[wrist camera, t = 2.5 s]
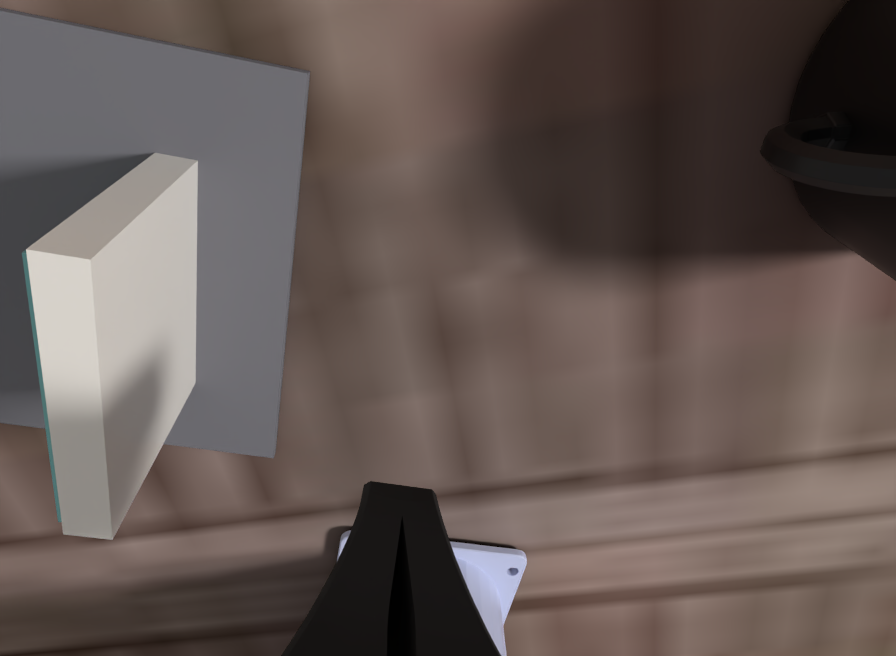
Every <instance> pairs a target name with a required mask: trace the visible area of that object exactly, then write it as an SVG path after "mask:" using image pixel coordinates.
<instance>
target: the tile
mask: <svg viewBox="0 0 896 656" xmlns="http://www.w3.org/2000/svg"><path fill="white" fill-rule="evenodd" d="M197 194H198V160H192V159H187V158H181V157H176V156H170V155H165V154H160V153H154V154H153V155H151V156H150V157H149V158H147V159H146V160H145V161H143V162H142V163H141V164H139V165H138V166H137V167H135V168H134V169H133V170H131V171H130V172H129V173H127V174H126V175H125V176H123V177H122V178H121V179H119V180H118V181H117V182H115V183H114V184H113V185H111V186H110V187H109V188H107V189H106V190H104V191H103V192H102V193H100V194H99V195H98V196H96V197H95V198H94V199H92V200H91V201H90V202H88V203H87V204H86V205H84V206H83V207H82V208H80V209H79V210H78V211H76V212H75V213H74V214H72V215H71V216H70V217H68V218H67V219H66V220H64V221H63V222H62V223H60V224H59V225H58V226H56V227H55V228H54V229H52V230H51V231H50V232H48V233H47V234H46V235H44V236H43V237H42V238H40V239H39V240H38V241H36V242H35V243H34V244H32V245H31V246H30V247H28V248H27V249H26V250H25V251H23V252H22V258H23V265H24V273H25V280H26V288H27V295H28V302H29V310H30V317H31V325H32V332H33V339H34V347H35V354H36V362H37V369H38V376H39V384H40V391H41V399H42V406H43V413H44V421H45V428H46V436H47V443H48V450H49V458H50V465H51V472H52V480H53V487H54V495H55V502H56V509H57V517H58V522H62V528H63V534H66V535H75V536H84V537H93V538H102V539H111V540H113V538H114V536H115V534H116V532H117V530H118V528H119V526H120V525H121V523H122V521H123V519H124V517H125V515H126V513H127V511H128V509H129V508H130V506H131V504H132V502H133V500H134V498H135V496H136V494H137V492H138V491H139V489H140V487H141V485H142V483H143V481H144V479H145V477H146V476H147V474H148V472H149V470H150V468H151V466H152V464H153V462H154V460H155V459H156V457H157V455H158V453H159V451H160V449H161V447H162V445H163V443H164V442H165V440H166V438H167V436H168V434H169V432H170V430H171V428H172V426H173V425H174V423H175V421H176V419H177V417H178V415H179V413H180V411H181V410H182V408H183V406H184V404H185V402H186V400H187V398H188V396H189V394H190V393H191V391H192V389H193V387H194V385H195V383H196V291H197Z"/></svg>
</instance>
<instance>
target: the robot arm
mask: <svg viewBox="0 0 896 656" xmlns="http://www.w3.org/2000/svg"><path fill="white" fill-rule="evenodd" d="M526 565H527V559H526V555H525V553H524V552H523V551H522V550H518V549H511V548H502V547H494V546H485V545H477V544H468V543H459V542H451V541H449V538H448V535H447V532H446V529H445V526H444V523H443V519H442V516H441V513H440V509H439V505H438V501H437V497H436V494H435V493H434V491H433V490H432V489H424V488H417V487H409V486H402V485H394V484H387V483H380V482H372V481H370V482H369V483H367V484H365V485H364V488H363V493H362V498H361V503H360V507H359V510H358V513H357V516H356V519H355V522H354V524H353V527H352V529H351V530H349V531H346V532H344V533H343V534H342V536H341V539H340V545H339V550H338V556H337V562H336V565H335V567H334V569H333V571H332V573H331V574H330V576H329V578H328V580H327V582H326V583H325V585H324V587H323V589H322V591H321V593H320V594H319V596H318V598H317V600H316V602H315V603H314V605H313V607H312V608H311V610H310V612H309V613H308V615H307V617H306V618H305V620H304V622H303V623H302V625H301V626H300V628H299V630H298V631H297V633H296V634H295V636H294V637H293V639H292V640H291V642H290V643H289V645H288V646H287V648H286V649H285V651H284V652H283V654H282V655H281V656H507V655H506V646H505V638H504V629H503V625H504V622H505V619H506V617H507V614H508V611H509V609H510V606H511V604H512V601H513V598H514V596H515V593H516V591H517V588H518V585H519V583H520V580H521V578H522V575H523V572H524V570H525V567H526Z"/></svg>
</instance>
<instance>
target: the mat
mask: <svg viewBox="0 0 896 656" xmlns="http://www.w3.org/2000/svg"><path fill="white" fill-rule="evenodd" d="M309 78H310V71H307V70H302V69H297V68H292V67H287V66H282V65H277V64H272V63H267V62H263V61H258V60H253V59H248V58H243V57H238V56H233V55H228V54H224V53H219V52H214V51H209V50H204V49H199V48H194V47H189V46H185V45H180V44H175V43H170V42H165V41H160V40H155V39H150V38H146V37H141V36H136V35H131V34H126V33H121V32H116V31H111V30H107V29H102V28H97V27H92V26H87V25H82V24H77V23H72V22H68V21H63V20H58V19H53V18H48V17H43V16H38V15H33V14H29V13H24V12H19V11H14V10H9V9H4V8H0V423H6V424H13V425H21V426H29V427H37V428H44V429H46V428H45V421H44V413H43V406H42V399H41V391H40V384H39V376H38V369H37V362H36V354H35V347H34V339H33V332H32V325H31V317H30V310H29V302H28V295H27V288H26V280H25V273H24V265H23V258H22V252H23V251H25V250H26V249H27V248H28V247H30V246H31V245H32V244H34V243H35V242H36V241H38V240H39V239H40V238H42V237H43V236H44V235H46V234H47V233H48V232H50V231H51V230H52V229H54V228H55V227H56V226H58V225H59V224H60V223H62V222H63V221H64V220H66V219H67V218H68V217H70V216H71V215H72V214H74V213H75V212H76V211H78V210H79V209H80V208H82V207H83V206H84V205H86V204H87V203H88V202H90V201H91V200H92V199H94V198H95V197H96V196H98V195H99V194H100V193H102V192H103V191H104V190H106V189H107V188H109V187H110V186H111V185H113V184H114V183H115V182H117V181H118V180H119V179H121V178H122V177H123V176H125V175H126V174H127V173H129V172H130V171H131V170H133V169H134V168H135V167H137V166H138V165H139V164H141V163H142V162H143V161H145V160H146V159H147V158H149V157H150V156H151V155H153V154H154V153H160V154H165V155H170V156H176V157H181V158H187V159H192V160H198V194H197V291H196V383H195V385H194V387H193V389H192V391H191V393H190V394H189V396H188V398H187V400H186V402H185V404H184V406H183V408H182V410H181V411H180V413H179V415H178V417H177V419H176V421H175V423H174V425H173V426H172V428H171V430H170V432H169V434H168V436H167V438H166V440H165V442H164V443H163V444H168V445H176V446H184V447H191V448H199V449H207V450H215V451H222V452H230V453H238V454H245V455H253V456H261V457H269V458H274V455H275V452H276V442H277V431H278V420H279V409H280V398H281V387H282V376H283V365H284V354H285V343H286V332H287V321H288V310H289V299H290V287H291V276H292V265H293V254H294V243H295V232H296V221H297V210H298V199H299V188H300V177H301V166H302V155H303V144H304V133H305V122H306V111H307V100H308V89H309Z"/></svg>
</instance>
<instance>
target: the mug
mask: <svg viewBox="0 0 896 656" xmlns="http://www.w3.org/2000/svg"><path fill="white" fill-rule="evenodd" d="M760 153H761V155H762V156H763V157H764V158H765V160H766V161H767V162H768V163H769V164H770V165H771V166H772V167H773V168H774V169H775V170H776V171H777V172H778V173H780V174H782V175H784V176H786V177H789V178H791V179H793V183H794V186H795V189H796V191H797V193H798V196H799V198H800V201H801V203H802V204H803V206H804V207H805V209H806V210H807V212H808V213H809V215H810V216H811V217H812V218H813V220H814V221H815V222H816V223H817V224H818V225H819V226H820V227H821V228H823V229H824V230H825V231H826V232H827V233H828V234H830V235H831V236H833V237H834V238H836V239H837V240H838V241H840V242H841V243H843V244H844V245H845V246H847V247H848V248H850V249H851V250H853V251H854V252H855V253H857V254H858V255H860V256H861V257H863V258H864V259H865V260H867V261H868V262H870V263H871V264H873V265H874V266H875V267H877V268H878V269H880V270H881V271H883V272H884V273H885V274H887V275H888V276H890V277H891V278H893V279H894V280H895V281H896V0H849V1H848V2H847V3H846V4H845V6H844V7H843V8H842V10H841V11H840V12H839V14H838V15H837V16H836V17H835V19H834V20H833V21H832V23H831V24H830V25H829V27H828V28H827V30H826V31H825V33H824V34H823V36H822V37H821V39H820V41H819V43H818V44H817V46H816V48H815V49H814V51H813V53H812V54H811V56H810V58H809V61H808V63H807V65H806V67H805V70H804V72H803V74H802V76H801V79H800V82H799V84H798V87H797V91H796V94H795V97H794V101H793V104H792V108H791V114H790V121H789V123H787V124H784V125H781V126H778V127H775V128H773V129H771V130H770V131H769V132H768V133H767V135H766V137H765V139H764V142H763V145H762V147H761V150H760Z"/></svg>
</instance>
